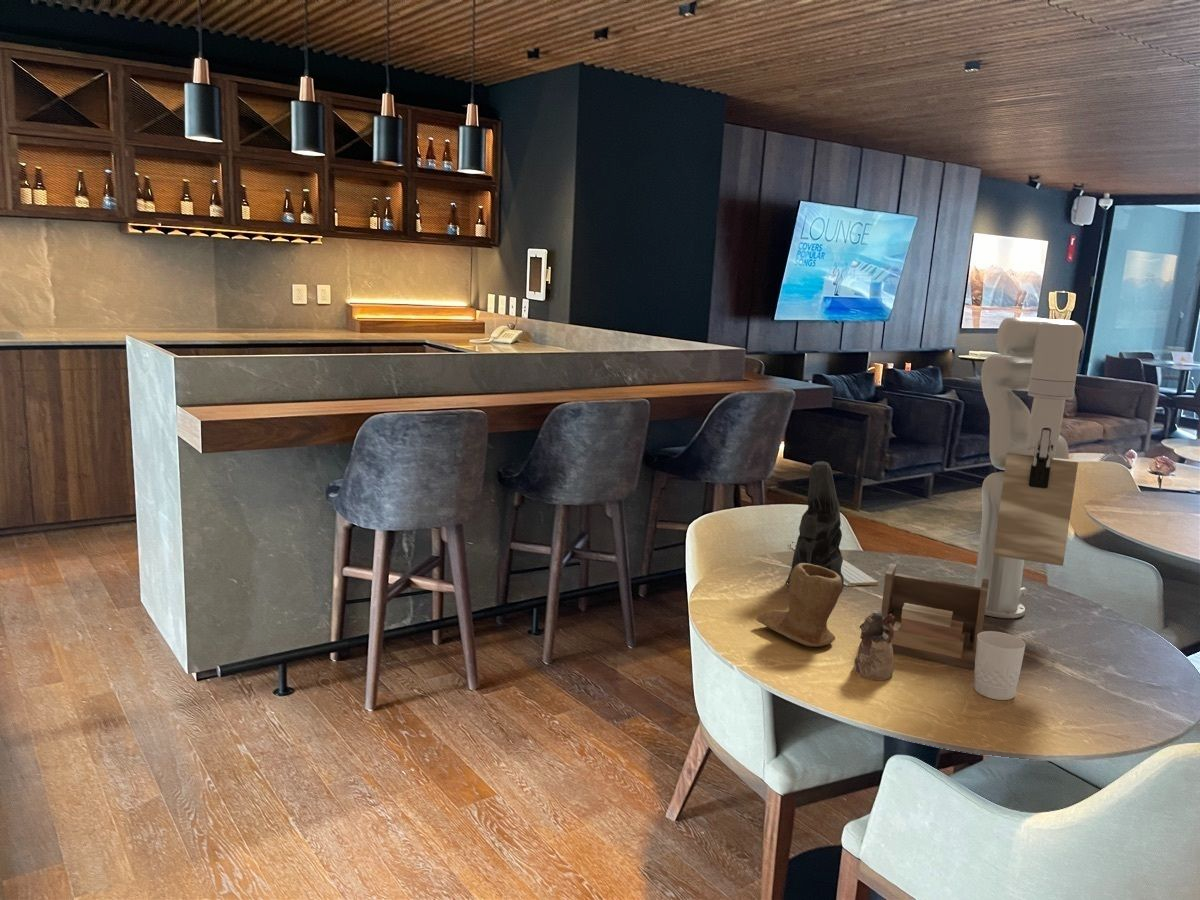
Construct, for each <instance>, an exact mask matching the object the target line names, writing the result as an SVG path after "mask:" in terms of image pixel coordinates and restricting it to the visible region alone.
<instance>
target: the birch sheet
mask: <svg viewBox="0 0 1200 900" xmlns="http://www.w3.org/2000/svg"><path fill="white" fill-rule="evenodd" d="M1033 461H1034V456H1032V455H1023V454H1014V453H1007V457H1006V464H1005V470H1004V471H1003V472H1004V480H1003V487H1002V495H1001V503H1000V510H999V518H998V526H997V533H996V541H995V549H994V555H995V556H1001V557H1008V558H1014V559H1021V560H1024V561H1028V562H1036V563H1041V564H1047V565H1055V566H1061V567H1064V561H1065V556H1066V555H1065V554H1066V547H1067V541H1068V534H1069V527H1070V520H1071V512H1072V507H1073V499H1074V494H1075V493H1074V492H1075V487H1076V480H1077V479H1076V478H1077V472H1078V465H1079V461H1078V459H1076V460H1075V459H1070V458H1069V459H1060V458H1050V465H1049V467H1050V474H1049V481H1048V487H1047V488H1046V489H1045V488H1037V487H1030V486H1029V479H1030V471H1031V465H1033ZM1036 463H1037V462H1036Z"/></svg>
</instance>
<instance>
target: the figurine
mask: <svg viewBox="0 0 1200 900" xmlns="http://www.w3.org/2000/svg"><path fill="white" fill-rule="evenodd" d="M893 619H894V616H893V614H890V615H888V616H886V617H885V618H884V617H883V614H882V612H881V611H880V610H875V611H873V612H871V613H870V614H868V615H867V616H866V617H865V618H864V621H863V623H861V624H860V625H859V629H860V631H861V632H860V637H859V638H860V639H861V641H860V643H859V646H858V649H857V653H856V656H855V659H854V662H853V667H852V670H853V671H854V672H855V675H857V676H859V677H860V678H863V679H867V680H871V681H884V680H885V681H886V680H889V679H891V678H892V676H893V673H894V670H895V669H894V668H895V663H894V662H895V661H894V660H895V659H894V653H893V649H892V644H891V640H892V638H893V635H894V629H893V626H892V625H891V623H890V621H892V620H893ZM884 630H888V631H889V632H890V636H888V635H887V634H885V633H884V632H883V631H884Z"/></svg>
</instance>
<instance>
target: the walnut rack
mask: <svg viewBox="0 0 1200 900" xmlns="http://www.w3.org/2000/svg"><path fill="white" fill-rule="evenodd" d="M884 573H885V574H884V584H883V585H884V586H883V593H882V603H881V611H880V612H882V614H883V617H884V618H885V617H886V616H888V615H890V614H893V616H894V619H893V620H892V621H890V623H891V625H892V626H894V624H895V622H896V621H897V622H901V620H902V618H901V616H902V608H903V606H904V603H908V604H914V605H919V606H925V607H930V608H936V609H941V610H947V611H952V612H953V614H952V620H954V621H959V622H963V629H962V634H964V635H965V636H964V644H963V651H962V656H961V658H957V657H952V656H947V655H942V654H937V653H932V652H927V651H923V650H918V649H913V648H908V647H903V646H898V645H893V644H892V649H893V654H897V655H902V656H905V657H906V656H907V657H911V658H916V659H922V660H924V661H925V660H926V661H931V662H935V663H940V664H945V665H948V666H949V665H950V666H955V667H960V668H965V669H969V670H974V671H975V656H976V644H977V635H978V634H979V633H980V632H984V631H983V630H984V622H985V616H986V615H985V608H986V600H987V592H988V585H989V580H988V579H982V585H981V588H979V587H974V585H966V584H960V583H954V582H950V581H949V582H948V581H943V580H937V579H932V578H925V577H920V576H919V577H918V576H915V575H914V576H913V575H908V574H901V573H897V563H889V565H888V568H887V570H886V571H885V572H884ZM883 632H884V633H885V634H887V635H888V636H890V632H889V631H888V630H884V631H883Z"/></svg>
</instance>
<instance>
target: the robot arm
mask: <svg viewBox="0 0 1200 900" xmlns="http://www.w3.org/2000/svg"><path fill="white" fill-rule="evenodd" d="M1084 336H1085V335H1084V330H1083V327H1082V326H1081V325H1080V324H1079V323H1078V322H1077V321H1074V320H1069V319H1058V318H1057V319H1055V318H1054V319H1053V318H1052V319H1051V318H1042V317H1006V318H1005V317H1004V319H1003V320H1001V322H1000V325H999V327H998V329H997V333H996V348H997V350H998V351H997V352H998V353H994V354H991V355H990V356H988V357H987V358H986V359H985V360H984V362H983V363H982V367H981V373H980V374H981V375H980V377H981V378H980V379H981V381H980V382H981V389H982V394H983V398H984V400H985V404H986V407H987V408H988V413H989V459H990V461H991V462H990V463H991V464H992V466H993V467H994V468H996V469H998V470H1000V471H997V472H992V473H990V474H988V475H987V476H986V477H985V478H984V480H983V482H982V486H981V504H982V505H981V506H982V507H981V508H982V509H981V510H982V514H981V515H982V516H981V518H982V519H981V526H980V527H981V529H980V535H979V545H978V551H977V559H976V567H975V568H976V569H975V575H974V584H973V587H979V588H981V585H982V579H988V580H989V585H988V592H987V600H986V608H985V615H984V616H988V617H994V618H999V619H1015V618H1016V619H1017V618H1021V617H1023V616H1025V613H1026V608H1025V606H1024V604H1022V603H1020V599H1021V597H1024V596H1027V595H1028V592H1029V591H1028V589H1027V588H1026V587H1024V586H1023V587H1022V580H1023V574H1024V573H1023V572H1024V567H1025V560H1021V559H1014V558H1008V557H1001V556H995V555H994V549H995V541H996V533H997V526H998V518H999V510H1000V503H1001V495H1002V487H1003V480H1004V472H1005V464H1006V457H1007V453H1014V454H1023V455H1032V456H1034V461H1033V465H1031V471H1030V479H1029V486H1030V487H1037V488H1045V489H1046V488H1047V487H1048V481H1049V474H1050V467H1049V465H1050V458H1060V459H1069V460H1070V457H1069V455H1070V454H1069V453H1070V452H1069V446H1068V442H1067V440H1066V439H1065V437H1064V436H1062V435H1061V430H1062V425H1063V420H1064V419H1063V418H1064V411H1065V405H1066V401H1067V400H1074V394H1075V388H1076V380H1077V373H1078V367H1079V361H1080V355H1081V353H1080V351H1082V348H1083V344H1084V338H1085V337H1084ZM1013 391H1019V392H1021V391H1022V392H1027V396H1029V397H1033V400H1032V405H1031V410H1030V409H1029V407H1028V406H1027V405H1026V404H1025V402H1023V400H1022V399H1021V398H1020V397H1019V396H1017V394H1015V393H1014V392H1013ZM1036 462H1037V463H1036ZM1001 470H1002V471H1001Z"/></svg>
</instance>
